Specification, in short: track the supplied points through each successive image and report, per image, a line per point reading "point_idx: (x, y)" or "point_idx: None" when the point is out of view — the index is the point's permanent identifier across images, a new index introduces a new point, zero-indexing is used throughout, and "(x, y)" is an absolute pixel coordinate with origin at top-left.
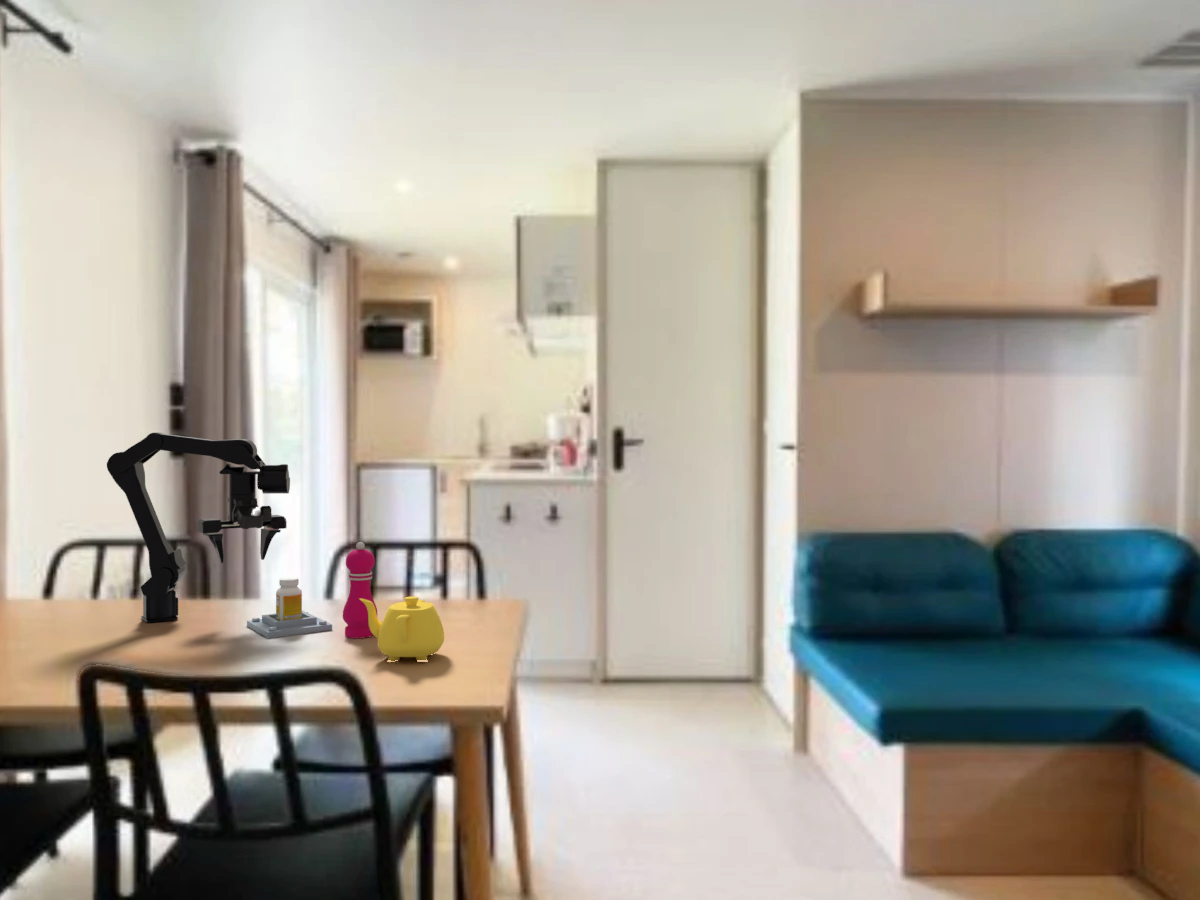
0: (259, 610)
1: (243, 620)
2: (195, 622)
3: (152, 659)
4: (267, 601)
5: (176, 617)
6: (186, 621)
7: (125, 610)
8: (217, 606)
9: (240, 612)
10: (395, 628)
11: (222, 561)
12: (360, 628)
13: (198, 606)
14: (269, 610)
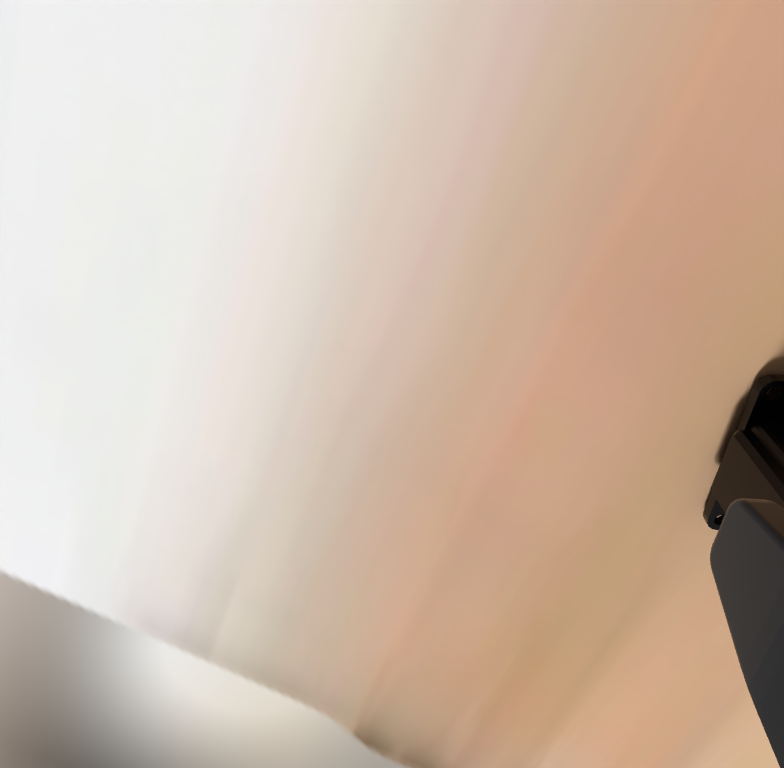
0: (196, 363)
1: (414, 72)
2: (721, 235)
3: None
4: (90, 571)
5: (772, 386)
6: (742, 306)
7: None
8: (385, 590)
9: (329, 374)
10: None
11: (766, 510)
12: None
13: (468, 634)
14: (131, 324)
